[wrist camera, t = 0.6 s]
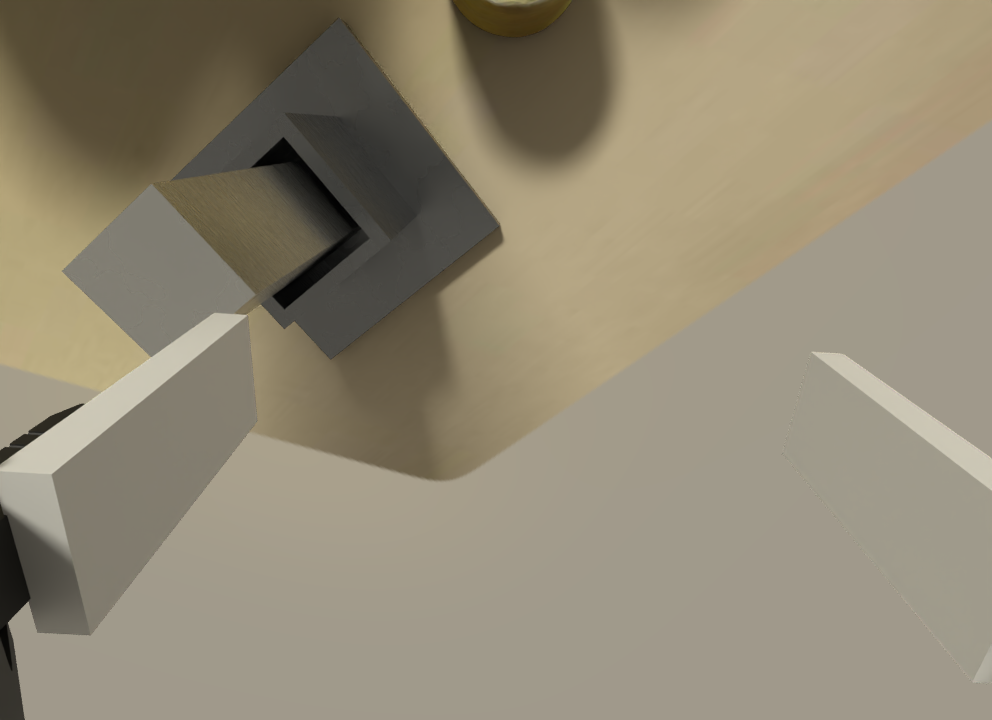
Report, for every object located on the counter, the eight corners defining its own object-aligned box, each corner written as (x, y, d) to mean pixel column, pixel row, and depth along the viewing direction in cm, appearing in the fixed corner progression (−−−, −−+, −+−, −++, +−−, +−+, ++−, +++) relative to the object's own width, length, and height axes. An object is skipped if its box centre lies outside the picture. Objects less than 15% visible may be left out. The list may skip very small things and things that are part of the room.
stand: (176, 182, 42) (66, 200, 32) (343, 20, 38) (282, -20, 28) (334, 353, 47) (284, 419, 36) (499, 223, 43) (497, 253, 32)
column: (278, 205, 41) (51, 282, 21) (334, 155, 40) (151, 183, 19) (325, 258, 42) (154, 380, 22) (381, 211, 41) (255, 294, 21)
